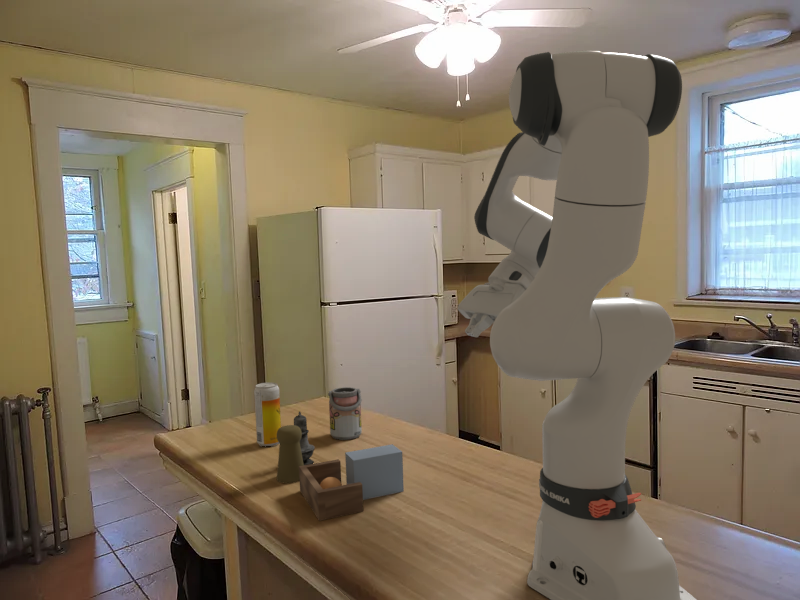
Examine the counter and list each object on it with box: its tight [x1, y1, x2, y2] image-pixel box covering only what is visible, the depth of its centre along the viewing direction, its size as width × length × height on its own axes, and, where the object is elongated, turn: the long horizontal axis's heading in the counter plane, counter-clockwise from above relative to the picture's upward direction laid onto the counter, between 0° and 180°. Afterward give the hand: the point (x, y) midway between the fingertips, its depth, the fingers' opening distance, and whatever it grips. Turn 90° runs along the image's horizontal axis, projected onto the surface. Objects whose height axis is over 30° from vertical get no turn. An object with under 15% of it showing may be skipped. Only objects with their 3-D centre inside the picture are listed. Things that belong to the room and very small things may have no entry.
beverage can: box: [327, 386, 363, 441], centre depth 146 cm, size 9×8×12 cm
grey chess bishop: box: [293, 411, 315, 465], centre depth 128 cm, size 6×6×12 cm
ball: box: [320, 477, 343, 489], centre depth 108 cm, size 4×4×4 cm
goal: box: [299, 459, 364, 521], centre depth 108 cm, size 14×8×5 cm, turn 23°
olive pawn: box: [276, 424, 304, 484], centre depth 120 cm, size 6×6×11 cm
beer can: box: [253, 382, 282, 448], centre depth 142 cm, size 6×6×15 cm
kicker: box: [344, 444, 404, 501], centre depth 111 cm, size 5×10×8 cm, turn 113°
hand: (470, 334), depth 116 cm, fingers closed
